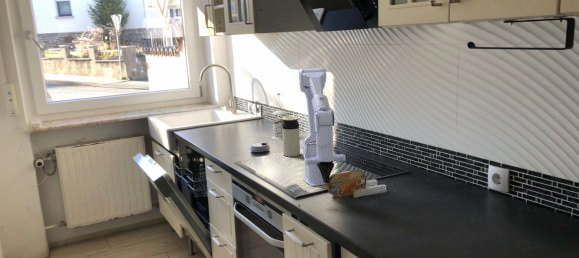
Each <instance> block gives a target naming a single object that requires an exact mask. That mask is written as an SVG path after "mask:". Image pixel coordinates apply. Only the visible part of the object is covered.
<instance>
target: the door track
mask: <svg viewBox="0 0 579 258" xmlns="http://www.w3.org/2000/svg"><path fill="white" fill-rule="evenodd" d="M383 193H387V185H385V184H378V180H377V179H370V180H369V179H368V180H366V186H365V187H364V188H359V189H356V190H353V195H352V198H354V199H356V198H359V197H362V196H364V197H365V196H370V195H376V194H383Z"/></svg>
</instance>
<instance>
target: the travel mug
mask: <svg viewBox="0 0 579 258" xmlns="http://www.w3.org/2000/svg"><path fill="white" fill-rule="evenodd" d="M282 119H283V124H282V133H283V139H282V152H283V156H285V157H289V158H290V157H291V158H292V157H293V158H294V157H298V156H300V155H301V143H300V124H299V121H298V120H299V117H298V116H290V117H288V116H287V117H285V116H284V117H282Z"/></svg>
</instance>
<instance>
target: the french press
mask: <svg viewBox="0 0 579 258" xmlns="http://www.w3.org/2000/svg"><path fill="white" fill-rule="evenodd" d="M276 96H281V93H280V92H278V93H276ZM287 113H288V112H287V111H284V110H282V109H281V110H280V108H278V109H277V110H275V111H273V112H271V114H272V115H273V116H279V118H277V119H274V120H273V122H272V129H273V130H272V131H273V136H271V139H273V140H283V133H282V124H283V119H281V116H284V117H291V116H290V115H288V114H287Z"/></svg>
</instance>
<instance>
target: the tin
mask: <svg viewBox="0 0 579 258" xmlns="http://www.w3.org/2000/svg"><path fill="white" fill-rule="evenodd" d="M366 181H367V177H366V175H365V174H364V172H363V171H360V170H357V169H352V170H347V171H341V172H336V173H333V174H330V177H329V182H328V183H327V184H326V188H327V192H328V193H329V194H330V195H332V196H334V197H335V198H343V197H348V196H351V195H352V196H353V190H356V189H359V188H364V187H365V186H366Z"/></svg>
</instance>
